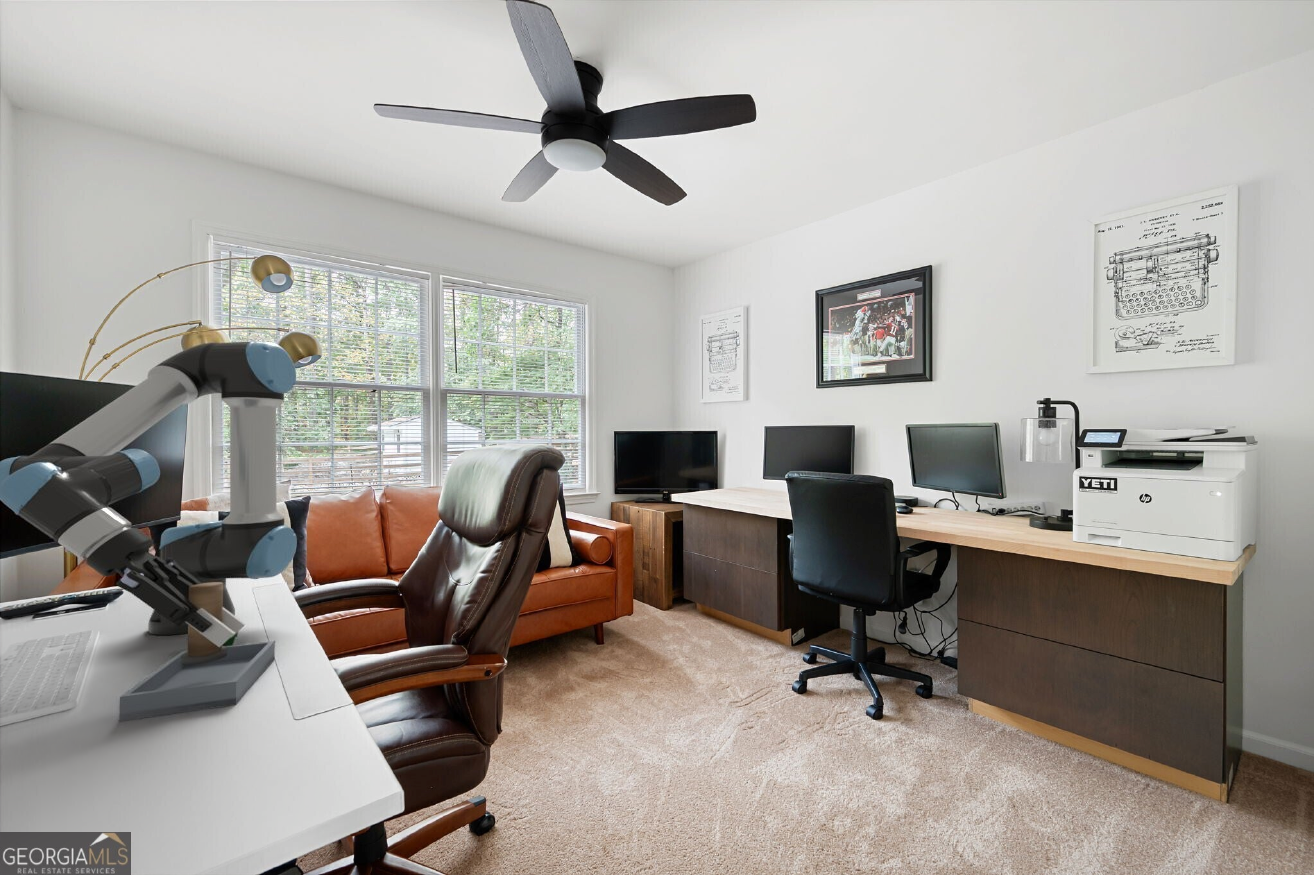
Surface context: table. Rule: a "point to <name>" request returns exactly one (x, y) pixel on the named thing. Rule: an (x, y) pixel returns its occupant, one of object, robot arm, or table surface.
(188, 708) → the tray
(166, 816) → the table surface
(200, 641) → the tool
